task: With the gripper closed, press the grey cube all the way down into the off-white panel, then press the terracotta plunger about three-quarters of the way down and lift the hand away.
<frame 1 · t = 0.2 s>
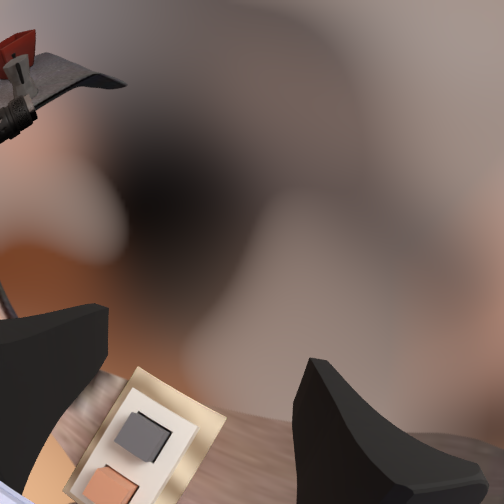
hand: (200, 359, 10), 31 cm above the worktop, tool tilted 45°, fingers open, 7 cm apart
plunger panel: (134, 463, 29), on the birch board, point 3 cm above the worktop
grey cube: (143, 437, 28), point 6 cm above the worktop, slide at 0.0 cm
birch board: (140, 461, 31), on the worktop
coffeepot: (27, 98, 76), on the worktop
terracotta plunger: (111, 490, 24), point 6 cm above the worktop, slide at 0.0 cm
plant pot: (17, 72, 91), on the worktop
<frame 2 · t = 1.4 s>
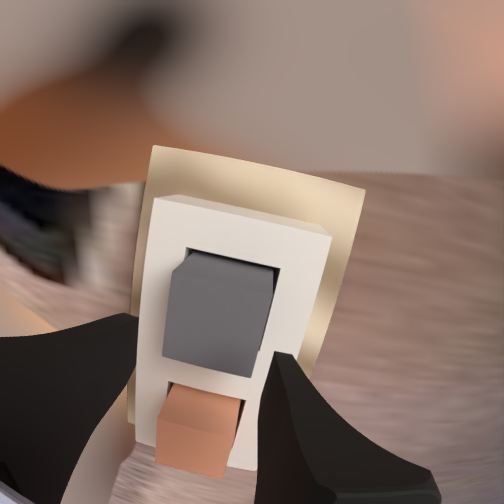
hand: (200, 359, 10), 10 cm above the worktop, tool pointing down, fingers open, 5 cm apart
plunger panel: (216, 350, 18), on the birch board, point 3 cm above the worktop
grey cube: (220, 310, 15), point 6 cm above the worktop, slide at 0.0 cm
birch board: (224, 328, 21), on the worktop
terracotta plunger: (198, 428, 16), point 6 cm above the worktop, slide at 0.0 cm
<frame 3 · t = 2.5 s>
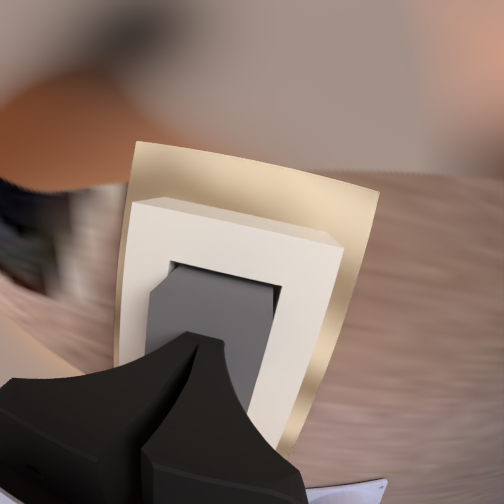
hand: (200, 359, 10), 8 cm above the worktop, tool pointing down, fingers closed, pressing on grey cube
plunger panel: (209, 374, 16), on the birch board, point 3 cm above the worktop
grey cube: (211, 334, 12), point 6 cm above the worktop, slide at 0.1 cm, touching gripper
birch board: (218, 347, 19), on the worktop
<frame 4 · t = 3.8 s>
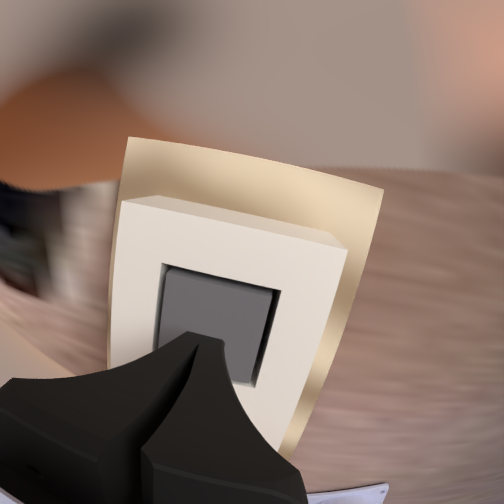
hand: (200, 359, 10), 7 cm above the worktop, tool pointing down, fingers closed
plunger panel: (205, 380, 15), on the birch board, point 3 cm above the worktop
grey cube: (217, 312, 14), point 3 cm above the worktop, slide at 2.9 cm
birch board: (215, 351, 18), on the worktop
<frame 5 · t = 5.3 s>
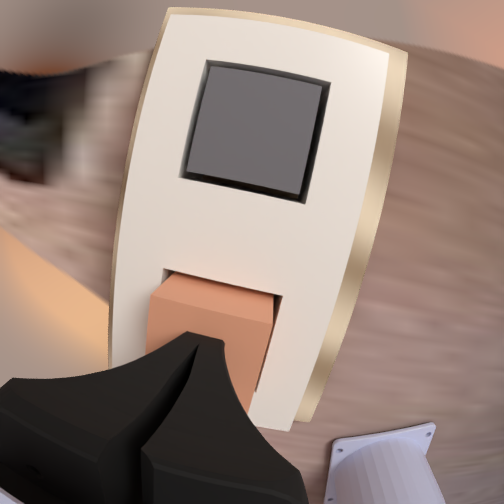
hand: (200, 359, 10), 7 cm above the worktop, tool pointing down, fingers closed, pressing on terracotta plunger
plunger panel: (237, 229, 13), on the birch board, point 3 cm above the worktop
grey cube: (257, 134, 12), point 3 cm above the worktop, slide at 2.9 cm
birch board: (243, 220, 16), on the worktop
terracotta plunger: (211, 336, 12), point 5 cm above the worktop, slide at 1.0 cm, touching gripper
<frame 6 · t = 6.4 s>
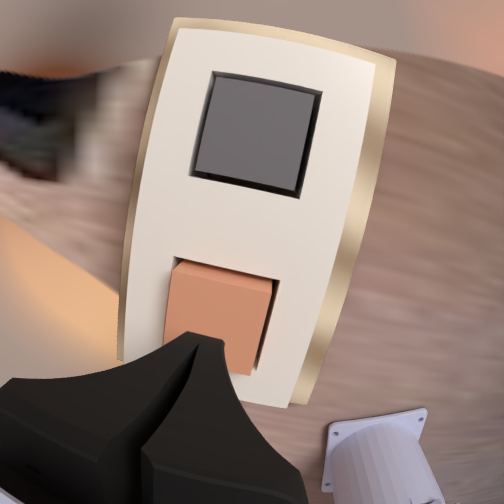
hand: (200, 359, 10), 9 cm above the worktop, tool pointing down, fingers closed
plunger panel: (239, 222, 15), on the birch board, point 3 cm above the worktop
grey cube: (257, 137, 14), point 3 cm above the worktop, slide at 2.9 cm
birch board: (244, 215, 18), on the worktop
terracotta plunger: (220, 308, 15), point 4 cm above the worktop, slide at 2.0 cm
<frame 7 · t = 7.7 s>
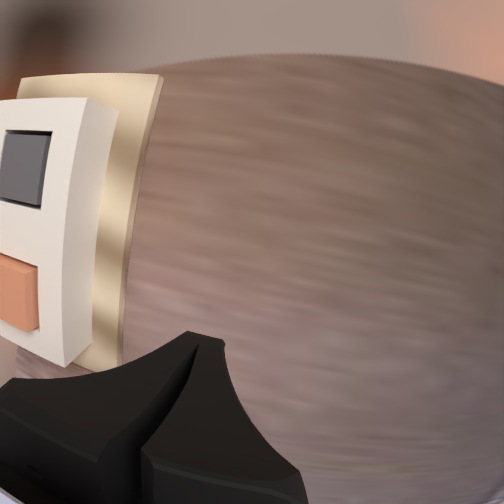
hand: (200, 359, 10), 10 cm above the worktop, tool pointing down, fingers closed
plunger panel: (33, 227, 18), on the birch board, point 3 cm above the worktop
grey cube: (38, 167, 17), point 3 cm above the worktop, slide at 2.9 cm
birch board: (58, 221, 21), on the worktop
terracotta plunger: (23, 286, 18), point 4 cm above the worktop, slide at 2.0 cm
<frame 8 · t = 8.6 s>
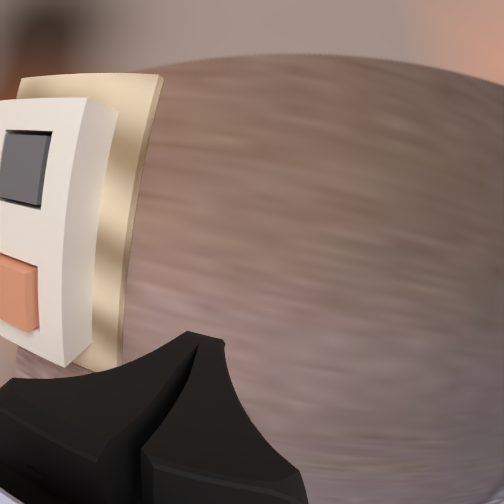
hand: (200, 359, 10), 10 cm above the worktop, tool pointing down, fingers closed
plunger panel: (33, 227, 18), on the birch board, point 3 cm above the worktop
grey cube: (38, 167, 17), point 3 cm above the worktop, slide at 2.9 cm
birch board: (58, 221, 21), on the worktop
terracotta plunger: (23, 286, 18), point 4 cm above the worktop, slide at 2.0 cm
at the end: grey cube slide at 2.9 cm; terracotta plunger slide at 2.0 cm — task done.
